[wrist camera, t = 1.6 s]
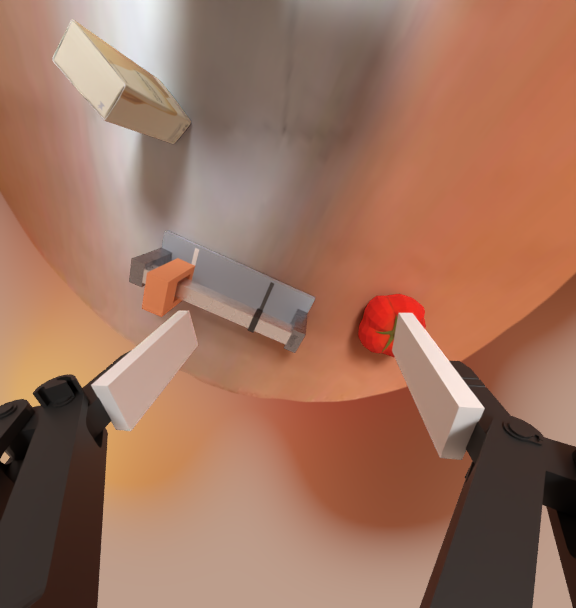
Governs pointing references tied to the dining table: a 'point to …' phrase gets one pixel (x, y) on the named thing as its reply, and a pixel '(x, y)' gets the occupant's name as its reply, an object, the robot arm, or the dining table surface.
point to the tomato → (386, 321)
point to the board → (238, 280)
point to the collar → (165, 286)
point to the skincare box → (118, 86)
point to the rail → (223, 303)
